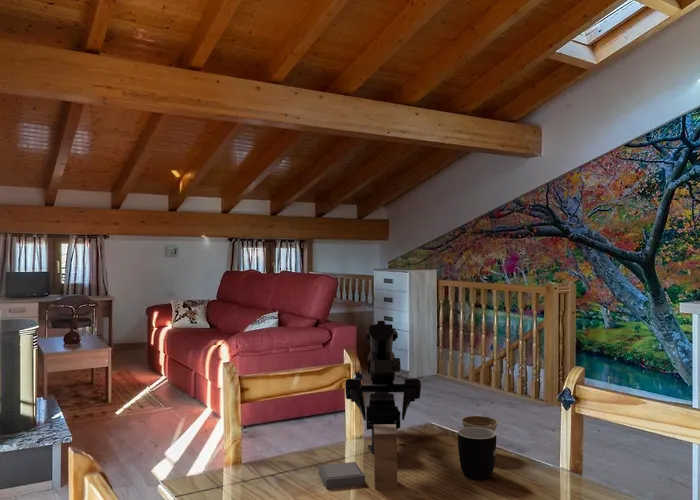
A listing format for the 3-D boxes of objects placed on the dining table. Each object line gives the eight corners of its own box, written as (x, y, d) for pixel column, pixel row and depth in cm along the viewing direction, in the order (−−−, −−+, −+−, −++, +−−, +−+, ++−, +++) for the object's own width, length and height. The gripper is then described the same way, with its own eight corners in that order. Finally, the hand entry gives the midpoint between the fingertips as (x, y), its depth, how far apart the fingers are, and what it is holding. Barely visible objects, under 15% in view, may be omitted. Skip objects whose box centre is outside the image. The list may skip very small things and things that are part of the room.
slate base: (318, 473, 137) (318, 464, 137) (355, 470, 139) (355, 461, 139) (326, 488, 128) (326, 479, 128) (364, 484, 130) (364, 474, 130)
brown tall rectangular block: (374, 480, 133) (373, 424, 133) (396, 480, 132) (395, 424, 133) (374, 489, 127) (374, 431, 128) (397, 489, 127) (397, 431, 128)
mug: (499, 483, 130) (499, 439, 130) (460, 482, 131) (459, 438, 131) (491, 464, 142) (490, 423, 142) (454, 463, 143) (454, 422, 143)
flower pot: (501, 450, 152) (501, 417, 152) (494, 462, 144) (494, 427, 144) (466, 445, 156) (466, 414, 156) (457, 456, 148) (457, 423, 148)
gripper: (345, 346, 143) (344, 402, 132) (419, 346, 143) (425, 401, 131) (346, 371, 151) (345, 426, 140) (417, 371, 150) (422, 425, 139)
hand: (384, 419), depth 137 cm, fingers open, 9 cm apart
